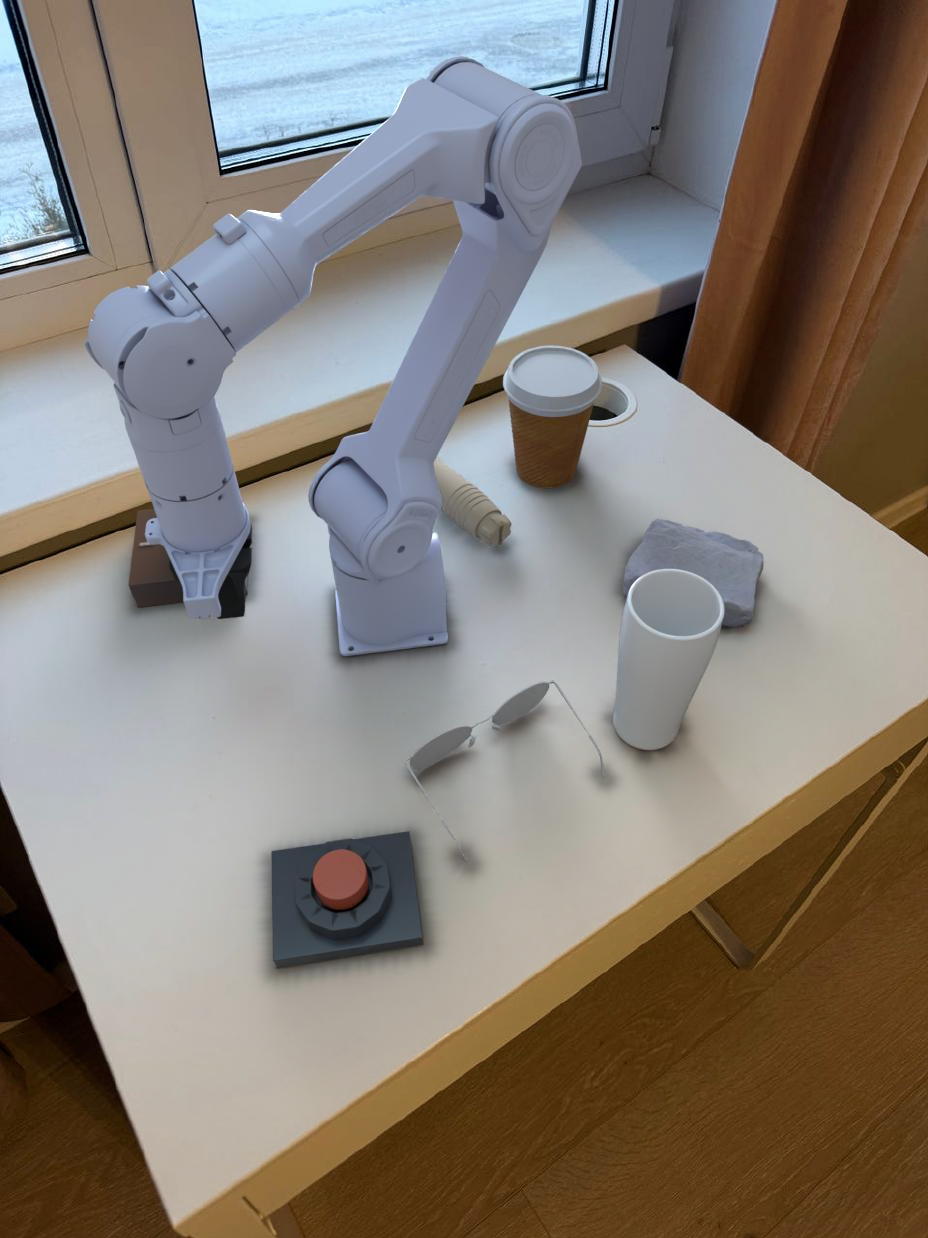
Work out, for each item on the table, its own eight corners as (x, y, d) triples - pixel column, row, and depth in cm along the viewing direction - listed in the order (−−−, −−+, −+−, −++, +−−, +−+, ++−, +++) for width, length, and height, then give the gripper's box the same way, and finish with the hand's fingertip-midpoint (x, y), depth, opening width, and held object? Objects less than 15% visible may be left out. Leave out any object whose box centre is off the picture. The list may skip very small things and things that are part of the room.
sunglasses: (546, 701, 74) (556, 671, 70) (606, 782, 71) (621, 756, 67) (401, 780, 70) (403, 753, 65) (458, 871, 66) (464, 849, 62)
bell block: (410, 839, 66) (408, 820, 64) (423, 945, 61) (421, 928, 59) (274, 859, 65) (267, 840, 63) (276, 968, 60) (268, 952, 58)
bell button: (366, 857, 63) (364, 845, 61) (370, 906, 60) (368, 895, 59) (314, 864, 62) (311, 853, 61) (317, 914, 60) (313, 903, 59)
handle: (474, 567, 86) (381, 483, 93) (524, 537, 88) (430, 457, 95) (476, 532, 82) (378, 447, 89) (527, 502, 84) (429, 421, 92)
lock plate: (248, 521, 89) (242, 497, 87) (248, 594, 83) (241, 570, 80) (146, 533, 88) (136, 509, 86) (137, 607, 82) (127, 584, 79)
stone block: (639, 547, 89) (614, 601, 81) (650, 505, 86) (625, 558, 78) (758, 582, 86) (744, 642, 78) (774, 541, 83) (761, 599, 75)
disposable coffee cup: (490, 448, 96) (492, 350, 87) (575, 434, 98) (585, 336, 89) (514, 506, 90) (518, 406, 81) (604, 490, 92) (617, 391, 83)
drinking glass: (634, 774, 70) (664, 654, 58) (587, 711, 74) (607, 587, 62) (704, 740, 72) (747, 617, 60) (654, 680, 76) (686, 554, 64)
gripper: (137, 412, 63) (184, 551, 73) (113, 556, 53) (170, 692, 64) (239, 404, 64) (271, 542, 74) (233, 544, 54) (270, 681, 64)
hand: (231, 611), depth 69 cm, fingers closed
